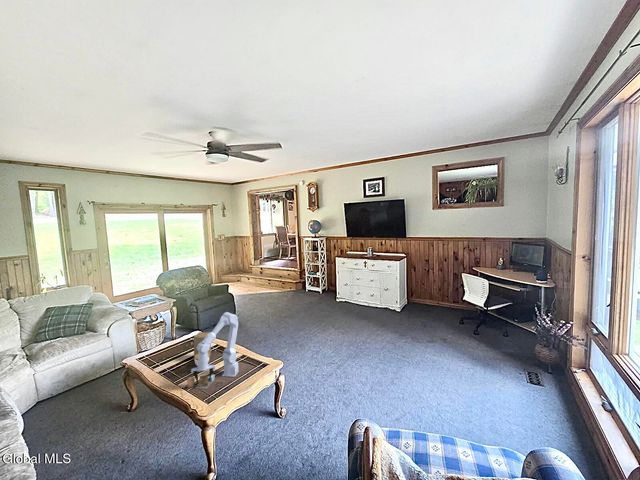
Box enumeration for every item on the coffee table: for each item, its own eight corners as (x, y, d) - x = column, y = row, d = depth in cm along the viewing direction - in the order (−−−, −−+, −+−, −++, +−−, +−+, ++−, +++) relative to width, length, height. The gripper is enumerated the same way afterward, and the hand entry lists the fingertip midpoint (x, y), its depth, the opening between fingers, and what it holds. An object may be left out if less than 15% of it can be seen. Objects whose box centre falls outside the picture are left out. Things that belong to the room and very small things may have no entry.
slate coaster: (212, 382, 191) (212, 381, 191) (206, 389, 183) (206, 388, 183) (201, 381, 192) (201, 381, 192) (194, 388, 184) (194, 387, 184)
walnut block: (207, 382, 191) (207, 374, 191) (207, 385, 186) (207, 378, 186) (199, 383, 189) (199, 376, 189) (199, 387, 185) (199, 380, 184)
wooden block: (211, 355, 231) (211, 332, 230) (206, 361, 221) (205, 336, 220) (199, 355, 231) (199, 331, 230) (193, 361, 221) (193, 336, 220)
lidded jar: (193, 369, 208) (193, 357, 208) (195, 362, 219) (195, 351, 218) (208, 367, 211) (208, 355, 211) (210, 361, 222) (210, 349, 221)
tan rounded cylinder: (195, 384, 189) (195, 377, 189) (192, 388, 185) (192, 380, 184) (189, 383, 190) (189, 376, 189) (186, 387, 185) (185, 380, 185)
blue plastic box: (214, 379, 196) (214, 374, 196) (211, 382, 192) (211, 377, 192) (210, 378, 196) (210, 374, 196) (207, 381, 192) (207, 377, 192)
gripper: (214, 356, 193) (215, 375, 194) (191, 360, 188) (192, 379, 189) (214, 361, 187) (215, 381, 187) (190, 364, 182) (191, 385, 182)
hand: (203, 380), depth 188 cm, fingers open, 7 cm apart
